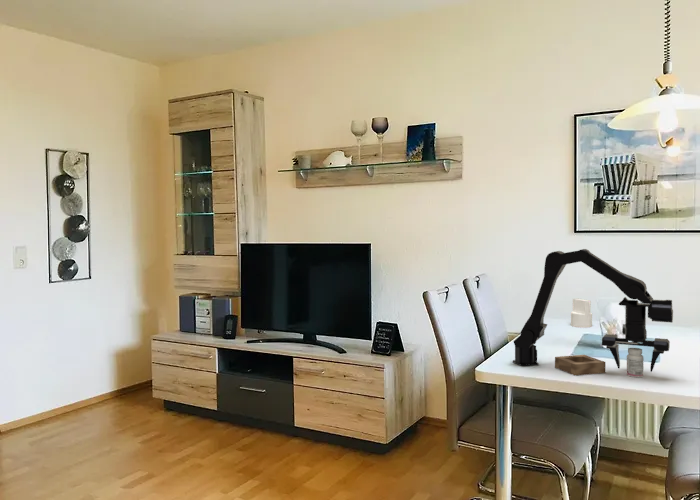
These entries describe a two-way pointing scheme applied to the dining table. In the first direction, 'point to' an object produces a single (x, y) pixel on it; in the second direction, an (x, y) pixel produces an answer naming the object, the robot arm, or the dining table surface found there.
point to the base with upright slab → (581, 314)
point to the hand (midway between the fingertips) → (634, 369)
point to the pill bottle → (635, 362)
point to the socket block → (580, 364)
